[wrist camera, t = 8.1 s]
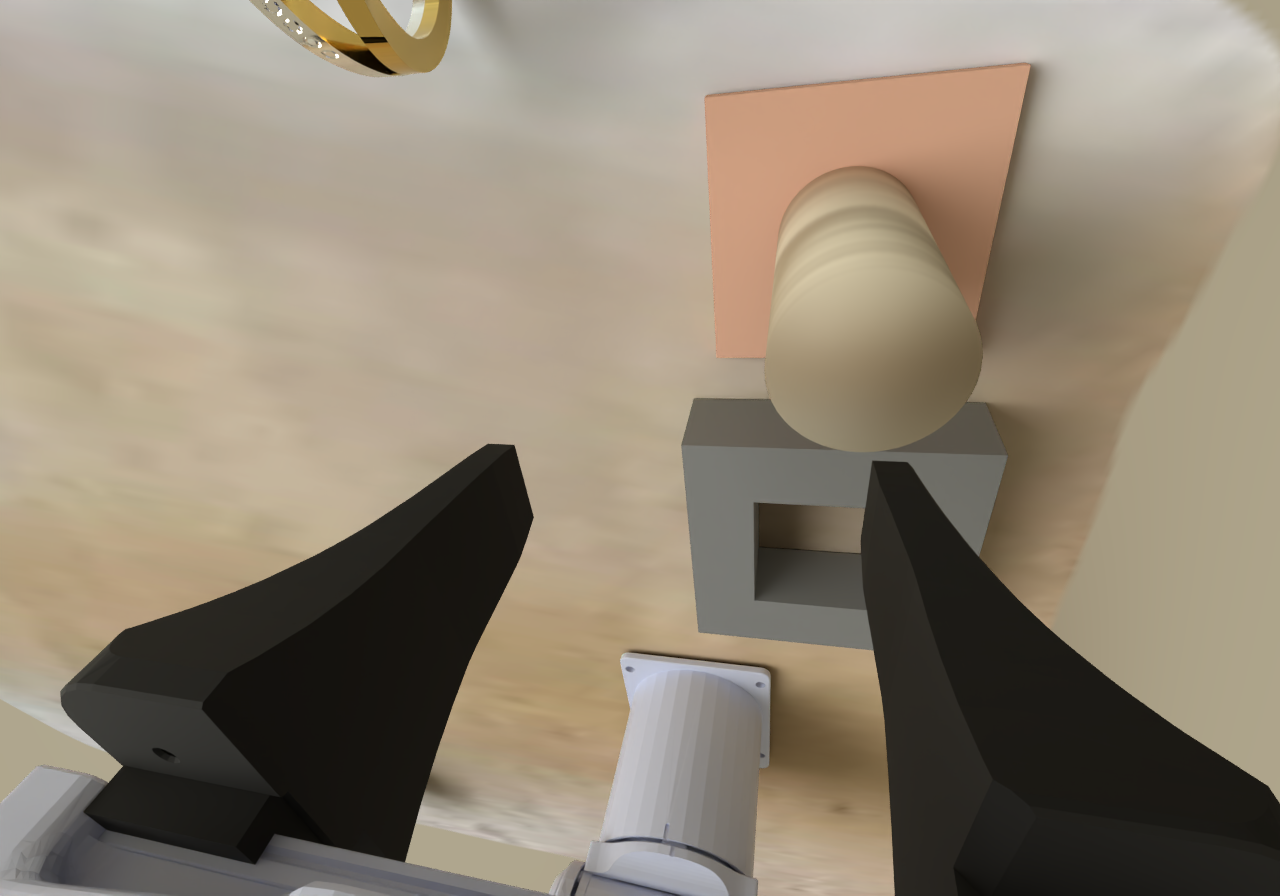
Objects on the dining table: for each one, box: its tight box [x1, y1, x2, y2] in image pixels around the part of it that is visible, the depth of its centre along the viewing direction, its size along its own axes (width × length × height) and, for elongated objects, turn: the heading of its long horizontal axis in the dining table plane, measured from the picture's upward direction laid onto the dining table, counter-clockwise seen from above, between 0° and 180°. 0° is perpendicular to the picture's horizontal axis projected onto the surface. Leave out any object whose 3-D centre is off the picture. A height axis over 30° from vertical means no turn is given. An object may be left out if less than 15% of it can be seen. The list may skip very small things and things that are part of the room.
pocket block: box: [681, 399, 1008, 650], centre depth 24 cm, size 10×10×3 cm
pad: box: [705, 63, 1031, 358], centre depth 19 cm, size 8×8×1 cm
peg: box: [765, 166, 983, 452], centre depth 15 cm, size 4×4×8 cm
